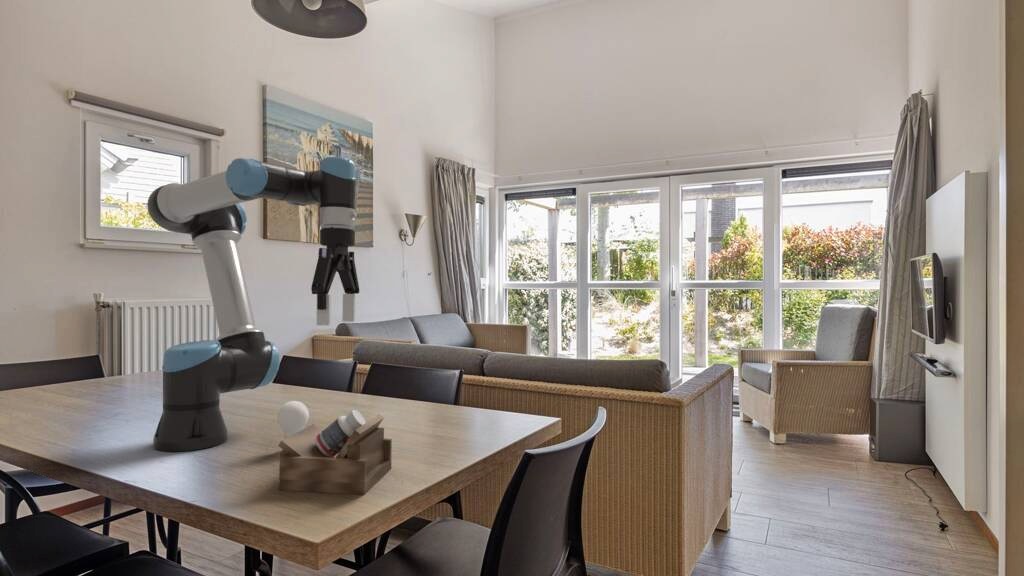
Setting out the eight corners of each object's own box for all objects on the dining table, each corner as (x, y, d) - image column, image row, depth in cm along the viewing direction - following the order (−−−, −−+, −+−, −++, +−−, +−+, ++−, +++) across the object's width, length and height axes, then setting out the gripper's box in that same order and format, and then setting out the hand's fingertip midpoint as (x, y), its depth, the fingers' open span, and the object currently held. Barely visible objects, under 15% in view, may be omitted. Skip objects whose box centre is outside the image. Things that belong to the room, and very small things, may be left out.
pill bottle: (326, 460, 108) (362, 430, 108) (310, 438, 109) (346, 408, 109) (337, 455, 113) (372, 427, 113) (322, 434, 114) (356, 406, 114)
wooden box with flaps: (274, 489, 104) (275, 428, 104) (312, 464, 119) (312, 410, 119) (364, 494, 103) (365, 431, 103) (391, 468, 118) (391, 413, 117)
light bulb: (282, 446, 133) (282, 398, 133) (311, 445, 133) (312, 398, 133) (272, 454, 126) (273, 404, 126) (303, 454, 127) (304, 404, 127)
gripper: (330, 221, 116) (329, 327, 116) (373, 233, 141) (372, 320, 141) (294, 222, 117) (293, 326, 117) (343, 233, 141) (343, 319, 141)
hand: (336, 323), depth 129 cm, fingers open, 13 cm apart
